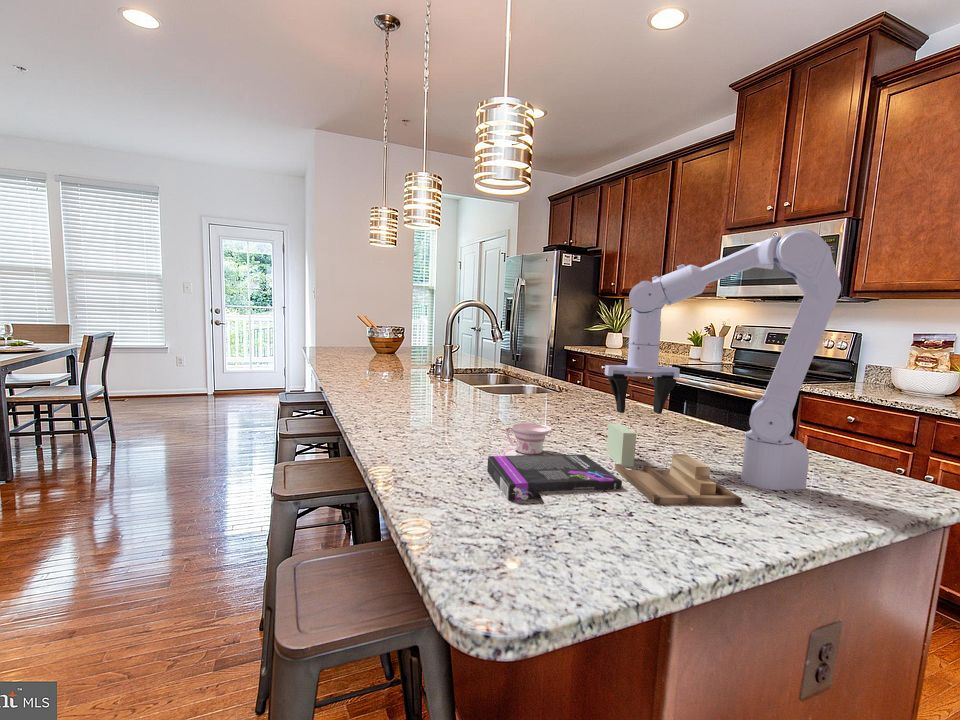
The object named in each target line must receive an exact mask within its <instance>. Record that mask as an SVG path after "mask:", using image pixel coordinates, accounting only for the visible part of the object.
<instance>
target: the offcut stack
mask: <svg viewBox="0 0 960 720" xmlns="http://www.w3.org/2000/svg"><path fill="white" fill-rule="evenodd" d="M669 467H670V468H669V470H670V475H671V476H672V477H674V478H675V479H677V480H678V481H680V482H681V483H682V484H684V485H685V486H687V487H688V488H690V489H691V490H692V491H694V492H695V493H697V494H698V495H711V496H715V492H716V483H717V482H716V483H714V482H715V481H714V480H713V481H714V482H713V481H711V480H712V479H711V480H709V478H710V474H711V473H710V472H711V466H710V465H708V464H706V463H703V462H702V461H700V460H698V459H696V458H694V457H692V456H690V455H688V454H687V453H685V454H684V453H677V454H676V453H675V454H674V453H673V454H672V456H671V463H670V466H669Z"/></svg>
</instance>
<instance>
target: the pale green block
mask: <svg viewBox="0 0 960 720" xmlns="http://www.w3.org/2000/svg"><path fill="white" fill-rule="evenodd" d="M606 439H607V440H606V442H607V443H606V455H607V456H608V457H609V458H610V459H612V461H614V462H615V464H621V465H622V466H623V467H625V468H627V467H629V468H630V467H631V468H632V467H635V456H636V444H637V443H636V442H637V432H635V431H633V430H632V429H630V428H629V427H627V426H625V425H624V424H622V423H620V422H619V423H614V422H613V423H612V422H611V423H610V422H609V423H608V425H607V438H606Z"/></svg>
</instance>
